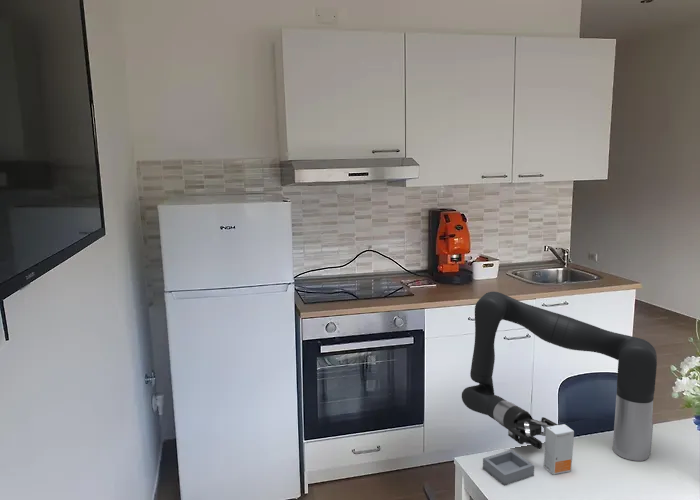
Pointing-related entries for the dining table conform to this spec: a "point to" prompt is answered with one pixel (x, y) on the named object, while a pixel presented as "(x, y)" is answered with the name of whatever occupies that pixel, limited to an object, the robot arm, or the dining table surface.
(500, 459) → the gray tray
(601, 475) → the dining table surface
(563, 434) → the skincare box
